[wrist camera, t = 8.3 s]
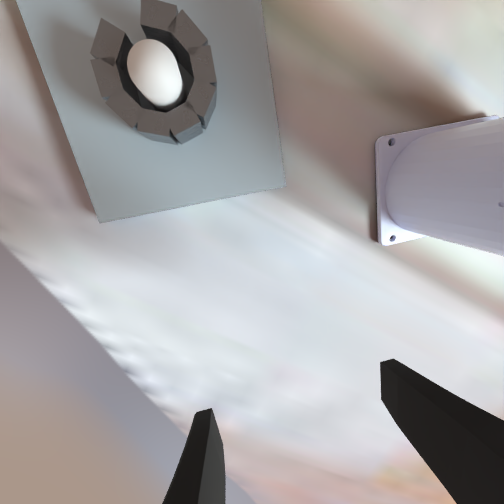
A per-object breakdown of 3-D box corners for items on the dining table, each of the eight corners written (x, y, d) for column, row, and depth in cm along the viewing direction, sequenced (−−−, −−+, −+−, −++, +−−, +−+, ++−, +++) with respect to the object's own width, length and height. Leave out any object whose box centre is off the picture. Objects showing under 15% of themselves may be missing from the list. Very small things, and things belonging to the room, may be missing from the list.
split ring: (203, 30, 13) (200, -11, 10) (223, 138, 15) (225, 128, 12) (104, 41, 13) (72, 2, 10) (135, 151, 14) (116, 145, 12)
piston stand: (250, -33, 14) (271, -151, 9) (281, 185, 17) (308, 188, 12) (25, -6, 13) (-94, -123, 8) (107, 220, 16) (61, 237, 11)
